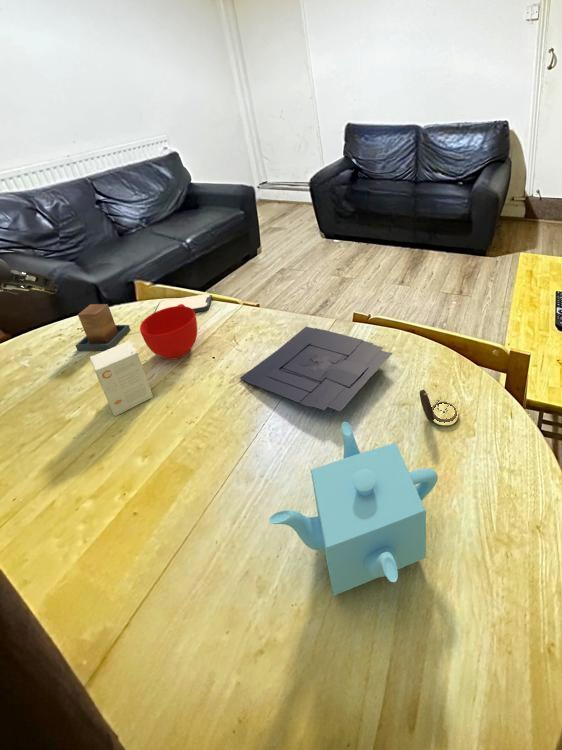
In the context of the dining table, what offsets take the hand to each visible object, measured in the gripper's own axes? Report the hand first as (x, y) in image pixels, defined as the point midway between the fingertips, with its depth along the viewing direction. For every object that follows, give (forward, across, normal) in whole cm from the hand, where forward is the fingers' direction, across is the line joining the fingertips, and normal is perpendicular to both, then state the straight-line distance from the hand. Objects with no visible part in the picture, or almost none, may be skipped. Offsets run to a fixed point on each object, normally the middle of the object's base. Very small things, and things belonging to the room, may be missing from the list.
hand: (38, 289), depth 96 cm
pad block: (+24, -1, +8) cm, 25 cm away
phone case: (+36, -16, -3) cm, 39 cm away
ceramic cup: (+22, -24, +11) cm, 34 cm away
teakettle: (-13, -78, +45) cm, 91 cm away
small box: (+9, -22, +24) cm, 34 cm away
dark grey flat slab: (+15, -64, +18) cm, 68 cm away
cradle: (+24, -1, +8) cm, 26 cm away
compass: (+6, -92, +27) cm, 96 cm away
